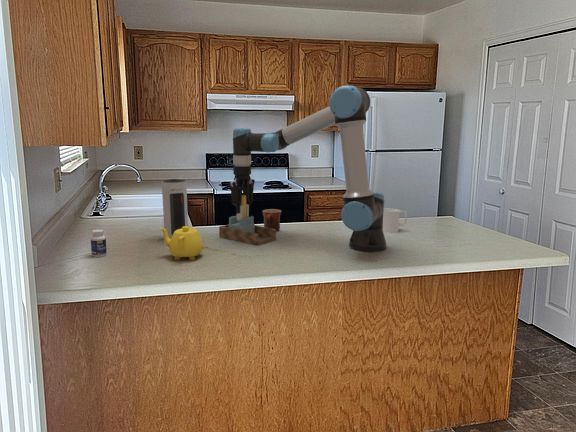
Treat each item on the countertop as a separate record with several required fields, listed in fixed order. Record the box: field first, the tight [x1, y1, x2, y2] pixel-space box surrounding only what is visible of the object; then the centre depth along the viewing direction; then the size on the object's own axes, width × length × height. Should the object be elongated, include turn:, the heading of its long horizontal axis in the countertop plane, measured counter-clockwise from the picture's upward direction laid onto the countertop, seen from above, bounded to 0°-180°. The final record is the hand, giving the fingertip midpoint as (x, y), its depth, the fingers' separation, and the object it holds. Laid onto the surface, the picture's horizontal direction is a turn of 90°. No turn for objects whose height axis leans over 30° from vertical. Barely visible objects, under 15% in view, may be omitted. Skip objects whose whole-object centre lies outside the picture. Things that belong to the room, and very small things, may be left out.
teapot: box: [158, 225, 204, 261], centre depth 185 cm, size 14×14×12 cm
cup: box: [383, 207, 408, 234], centre depth 231 cm, size 8×12×10 cm
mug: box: [262, 208, 282, 232], centre depth 223 cm, size 12×9×10 cm
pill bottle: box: [90, 229, 108, 258], centre depth 186 cm, size 5×5×10 cm
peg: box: [241, 194, 246, 218], centre depth 208 cm, size 3×3×12 cm
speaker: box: [161, 178, 189, 239], centre depth 210 cm, size 11×10×26 cm
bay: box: [218, 224, 277, 247], centre depth 209 cm, size 22×12×6 cm, turn 51°
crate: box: [227, 215, 255, 233], centre depth 210 cm, size 8×8×9 cm
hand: (242, 219), depth 209 cm, fingers closed on peg, 3 cm apart
